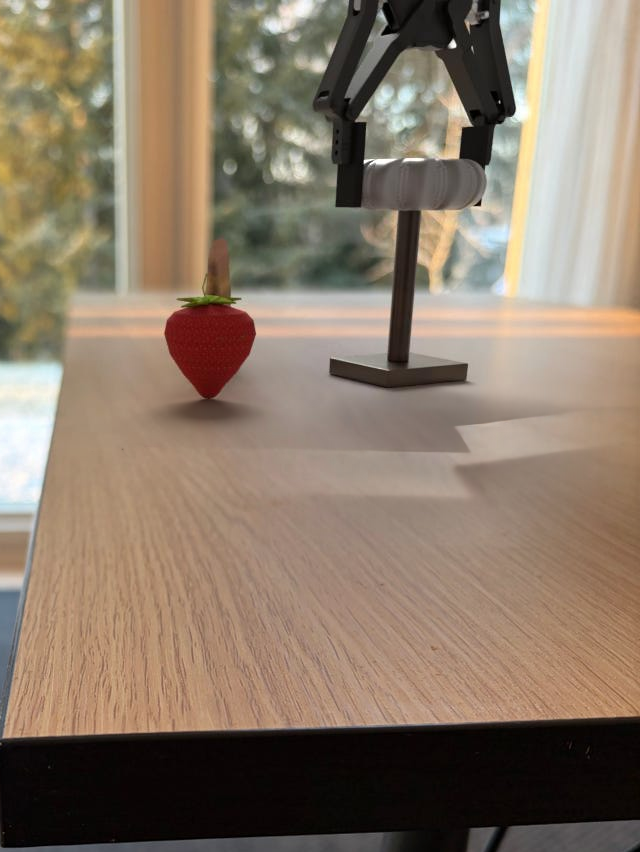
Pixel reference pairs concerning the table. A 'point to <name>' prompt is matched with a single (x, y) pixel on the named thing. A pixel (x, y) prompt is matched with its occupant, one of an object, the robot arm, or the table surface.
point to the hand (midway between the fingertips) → (409, 207)
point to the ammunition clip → (218, 270)
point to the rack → (401, 327)
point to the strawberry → (209, 341)
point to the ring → (422, 184)
